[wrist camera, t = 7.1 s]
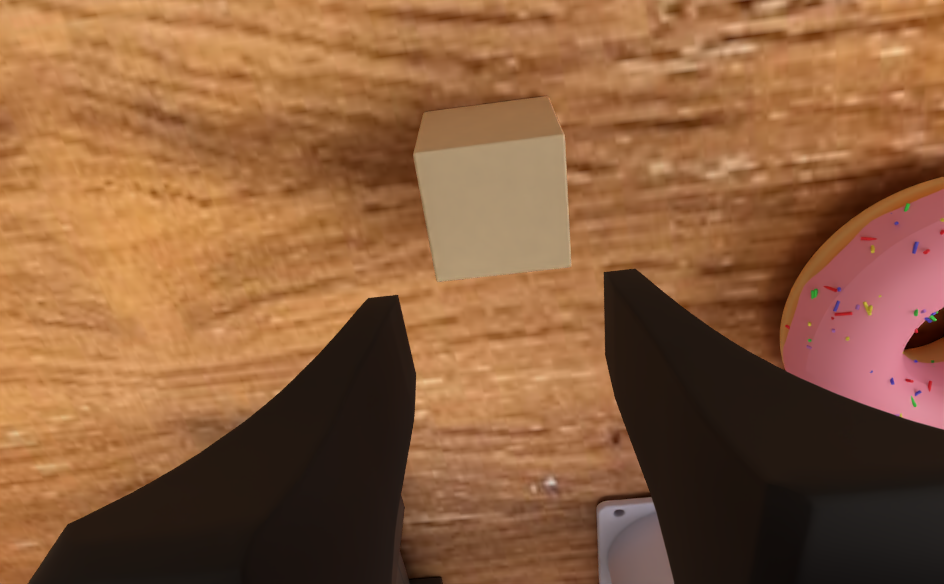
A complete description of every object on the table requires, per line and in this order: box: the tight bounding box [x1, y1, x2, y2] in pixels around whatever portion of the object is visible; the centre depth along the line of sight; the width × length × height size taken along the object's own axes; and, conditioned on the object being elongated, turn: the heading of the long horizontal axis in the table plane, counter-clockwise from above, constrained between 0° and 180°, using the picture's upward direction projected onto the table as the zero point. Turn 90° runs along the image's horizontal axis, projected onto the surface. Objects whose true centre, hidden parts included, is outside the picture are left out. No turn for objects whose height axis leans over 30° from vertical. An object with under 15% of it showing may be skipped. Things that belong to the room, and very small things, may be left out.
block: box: [413, 96, 571, 282], centre depth 19 cm, size 4×4×4 cm
